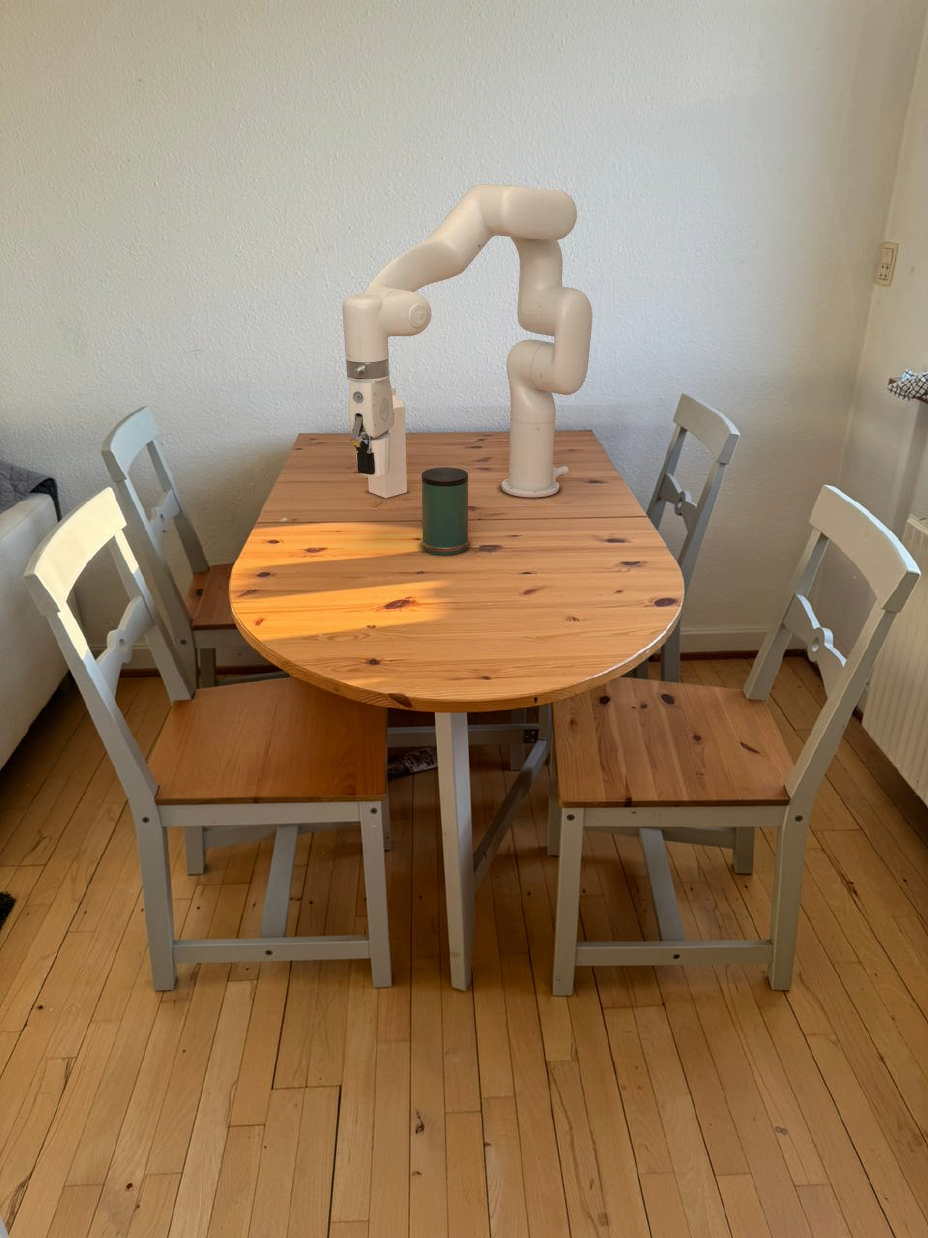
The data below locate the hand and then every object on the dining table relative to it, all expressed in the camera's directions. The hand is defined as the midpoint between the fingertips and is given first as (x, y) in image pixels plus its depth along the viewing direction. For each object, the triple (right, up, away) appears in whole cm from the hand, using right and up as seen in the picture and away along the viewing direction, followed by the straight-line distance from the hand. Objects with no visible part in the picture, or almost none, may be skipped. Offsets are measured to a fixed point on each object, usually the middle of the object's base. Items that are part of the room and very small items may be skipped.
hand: (373, 467), depth 174 cm
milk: (0, -1, +30) cm, 30 cm away
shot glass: (0, -1, 0) cm, 1 cm away
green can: (+13, -15, +2) cm, 20 cm away
